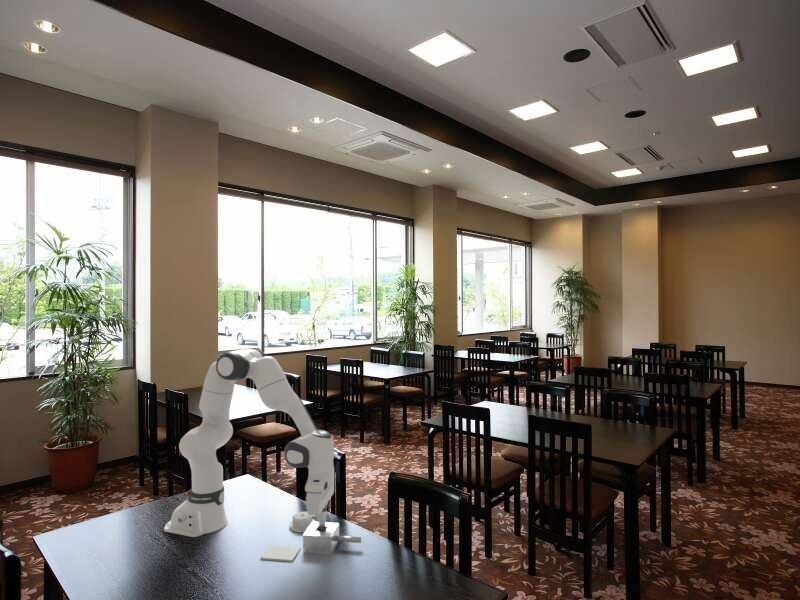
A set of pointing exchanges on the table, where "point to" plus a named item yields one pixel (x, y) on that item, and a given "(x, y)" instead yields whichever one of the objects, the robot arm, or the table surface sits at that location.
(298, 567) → the table surface
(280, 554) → the mat
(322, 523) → the grey capped cylinder
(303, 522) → the mechanical component
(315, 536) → the block
